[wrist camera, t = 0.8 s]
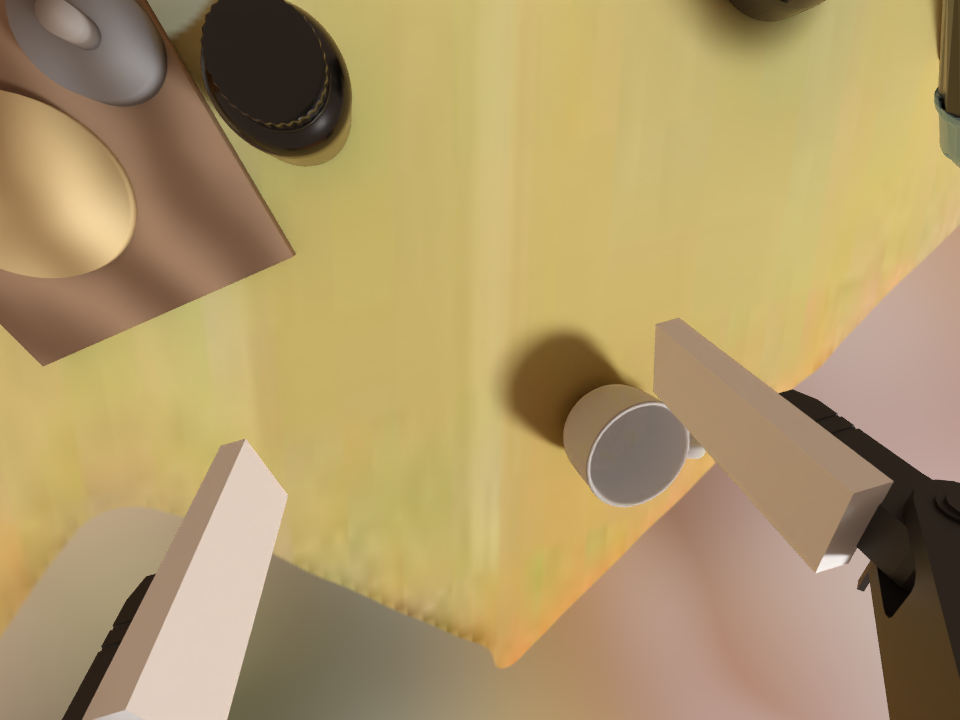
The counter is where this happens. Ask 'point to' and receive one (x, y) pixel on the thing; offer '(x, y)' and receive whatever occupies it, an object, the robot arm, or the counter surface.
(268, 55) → the supplement bottle
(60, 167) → the board
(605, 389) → the teacup
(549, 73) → the counter surface
